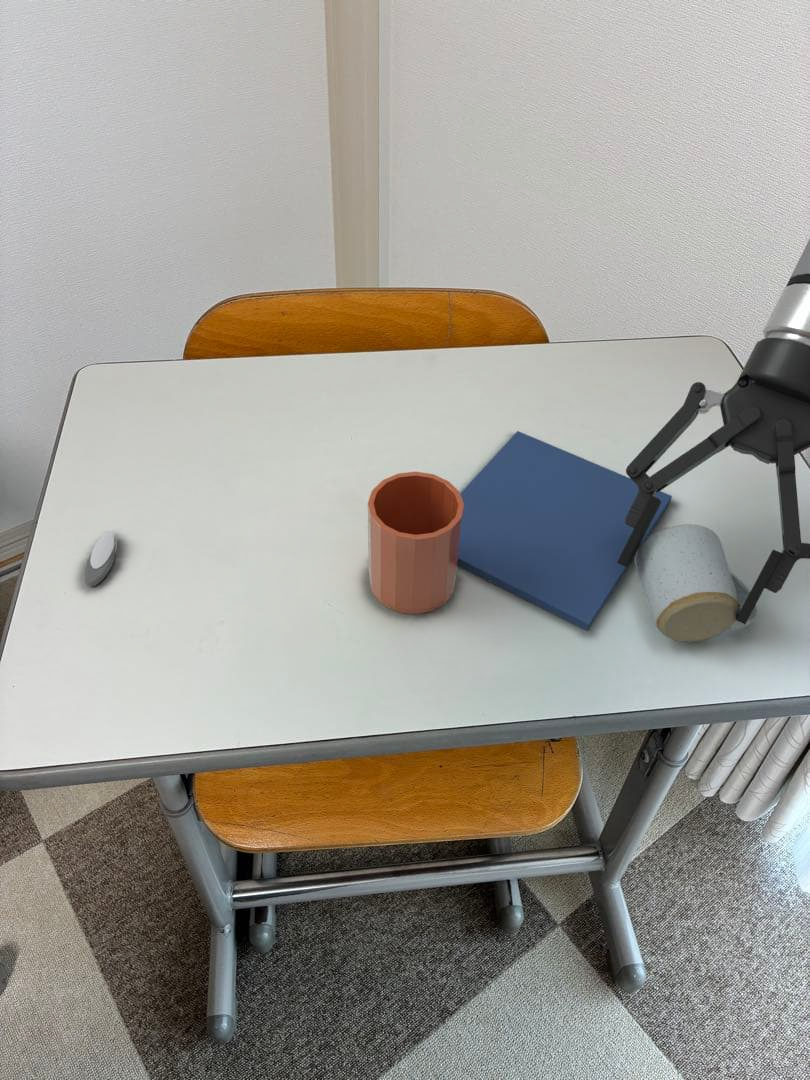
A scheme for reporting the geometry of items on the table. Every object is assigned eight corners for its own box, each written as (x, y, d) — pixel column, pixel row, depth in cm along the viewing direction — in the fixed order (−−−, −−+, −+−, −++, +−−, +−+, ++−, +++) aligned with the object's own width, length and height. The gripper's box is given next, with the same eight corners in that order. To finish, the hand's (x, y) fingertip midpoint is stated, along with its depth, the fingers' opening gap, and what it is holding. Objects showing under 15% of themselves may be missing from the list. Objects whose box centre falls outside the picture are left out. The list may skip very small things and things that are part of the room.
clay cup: (471, 572, 75) (480, 495, 68) (425, 628, 71) (430, 552, 63) (401, 536, 78) (403, 459, 71) (352, 588, 74) (349, 511, 66)
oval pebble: (104, 590, 73) (101, 583, 72) (79, 587, 73) (75, 580, 72) (126, 538, 77) (123, 531, 76) (101, 536, 77) (98, 528, 76)
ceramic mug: (647, 649, 70) (672, 593, 64) (624, 577, 75) (646, 520, 69) (764, 647, 70) (799, 591, 65) (733, 576, 76) (763, 519, 70)
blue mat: (669, 502, 82) (672, 495, 82) (587, 631, 71) (589, 624, 70) (516, 437, 89) (517, 430, 88) (418, 545, 77) (418, 538, 77)
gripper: (937, 413, 65) (807, 652, 68) (677, 321, 74) (570, 538, 76) (962, 393, 58) (816, 660, 61) (672, 294, 67) (554, 533, 69)
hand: (679, 592), depth 69 cm, fingers closed on ceramic mug, 10 cm apart
